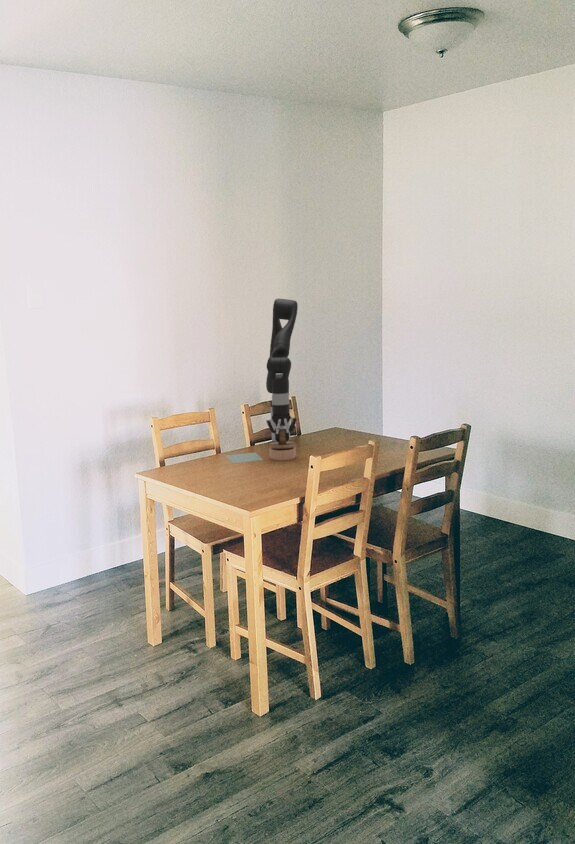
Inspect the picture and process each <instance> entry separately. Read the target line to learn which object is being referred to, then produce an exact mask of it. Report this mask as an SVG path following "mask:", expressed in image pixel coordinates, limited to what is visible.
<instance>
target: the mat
mask: <svg viewBox="0 0 575 844" xmlns="http://www.w3.org/2000/svg"><path fill="white" fill-rule="evenodd" d="M225 457H226V458H227V459H228V460H229V461H230V463H232V464H239V463H251V462H257V461H264V459H263V458H262V456H260V455H259V454H257V452H250V453H249V452H248V453H239V454H238V453H237V454H227V455H225Z"/></svg>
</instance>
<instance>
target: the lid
mask: <svg viewBox="0 0 575 844" xmlns="http://www.w3.org/2000/svg"><path fill="white" fill-rule="evenodd" d="M278 434H279V442H274V441H271V442H269V444H268V448H275V449H285V448H292V447H296V446H297V442H295V441H292V440H291V441H290V440H289V441H286V429H279V433H278Z"/></svg>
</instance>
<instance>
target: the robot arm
mask: <svg viewBox="0 0 575 844" xmlns="http://www.w3.org/2000/svg"><path fill="white" fill-rule="evenodd" d="M297 316H298V302H297V300H294V299H287V298H286V299H285V298H276V299H274V301H273V304H272V327H271V329H272V330H271V331H272V332H271V337H270V345H269V346H270V348H269V357H268V359H267V361H266V362H267V363H266V369H267V374H266V375H267V376H266V382H265V386H266V391H267V392H268V393H269V394H271V401H270V403H269V405H270V418H269V419H266V421H265V422H266V425H267V426H268V428H269V431H270V433H271V442H279V434H278V433H279V429H286V441H290V440H291V432H293V431H294V429H295V426H296V423H297V418H296V417H292V416H291V414H290V393H289V392H290V380H289V379H290V378H289V377H290V372H291V369H292V361H291V359H290V358H289V355H290V348H291V339H292V335H293V332H294V327H295V325H296V320H297ZM281 320H285V321H287V322H286V324H285V325H284V326H282V323H281Z"/></svg>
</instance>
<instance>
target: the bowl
mask: <svg viewBox="0 0 575 844" xmlns="http://www.w3.org/2000/svg"><path fill="white" fill-rule="evenodd" d="M268 448H269V449H268V451H269V458H270V459H271V461H277V462H278V461H291V460H293V459H295V458H296V456H297V455H296V454H297V453H296V451H297V450H296V449H297V448H296V446H295V447H292V448H285V449H275V448H270V447H268Z"/></svg>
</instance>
